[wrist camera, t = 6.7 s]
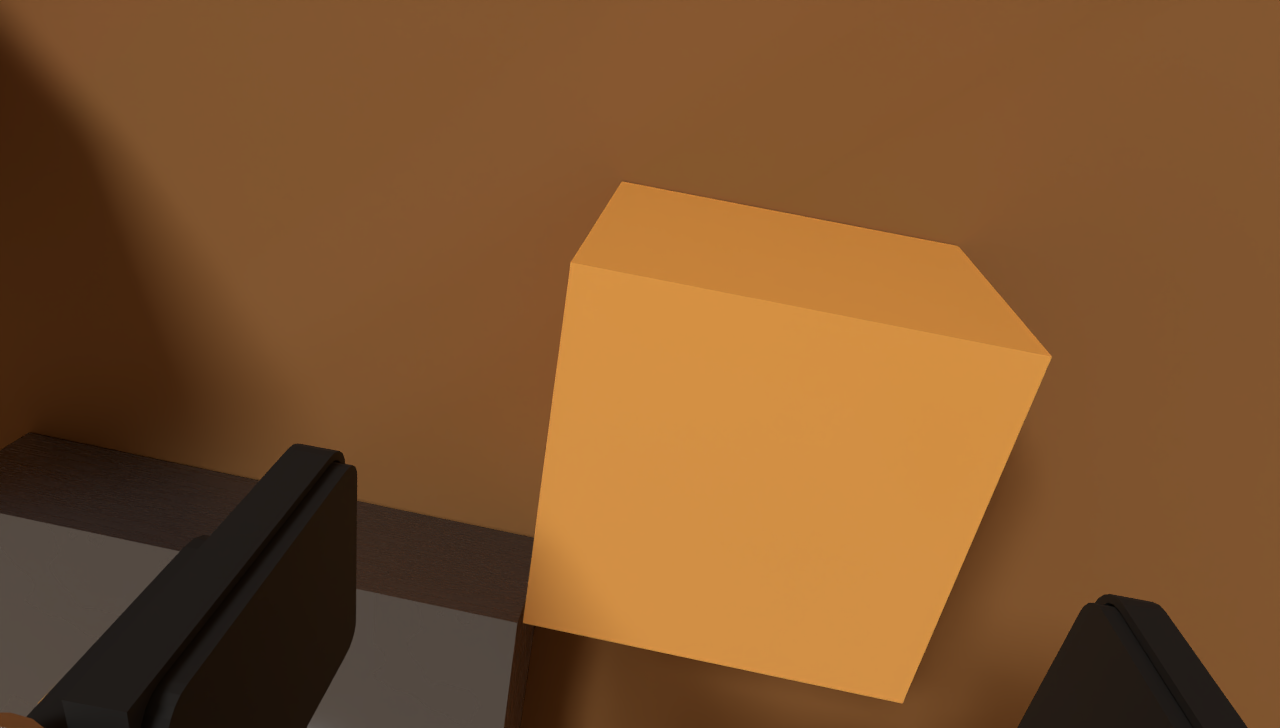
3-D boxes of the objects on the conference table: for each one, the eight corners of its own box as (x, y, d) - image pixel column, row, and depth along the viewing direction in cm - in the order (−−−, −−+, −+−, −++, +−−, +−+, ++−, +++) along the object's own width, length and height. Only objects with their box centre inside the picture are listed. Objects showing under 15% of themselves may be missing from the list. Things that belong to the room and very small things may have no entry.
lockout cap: (958, 245, 16) (1051, 356, 11) (861, 521, 19) (902, 703, 14) (622, 181, 17) (571, 262, 12) (578, 463, 20) (522, 622, 15)
